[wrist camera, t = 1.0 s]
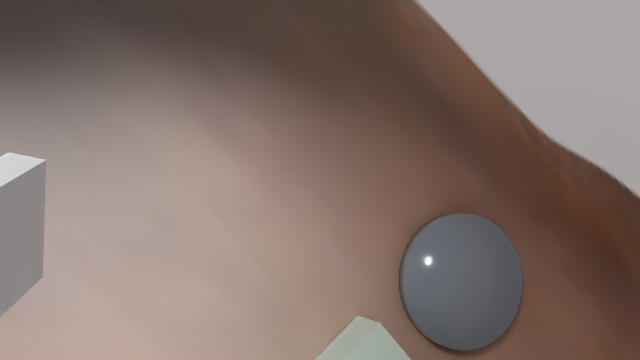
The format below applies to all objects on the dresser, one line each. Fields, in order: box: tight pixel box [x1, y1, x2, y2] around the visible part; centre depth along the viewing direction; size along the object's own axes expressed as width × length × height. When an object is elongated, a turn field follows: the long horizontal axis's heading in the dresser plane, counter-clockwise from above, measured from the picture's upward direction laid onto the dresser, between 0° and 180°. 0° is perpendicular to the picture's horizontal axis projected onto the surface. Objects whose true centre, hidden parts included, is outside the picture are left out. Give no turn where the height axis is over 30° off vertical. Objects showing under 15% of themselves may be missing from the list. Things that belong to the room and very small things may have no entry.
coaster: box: [399, 213, 523, 351], centre depth 34 cm, size 8×8×1 cm
